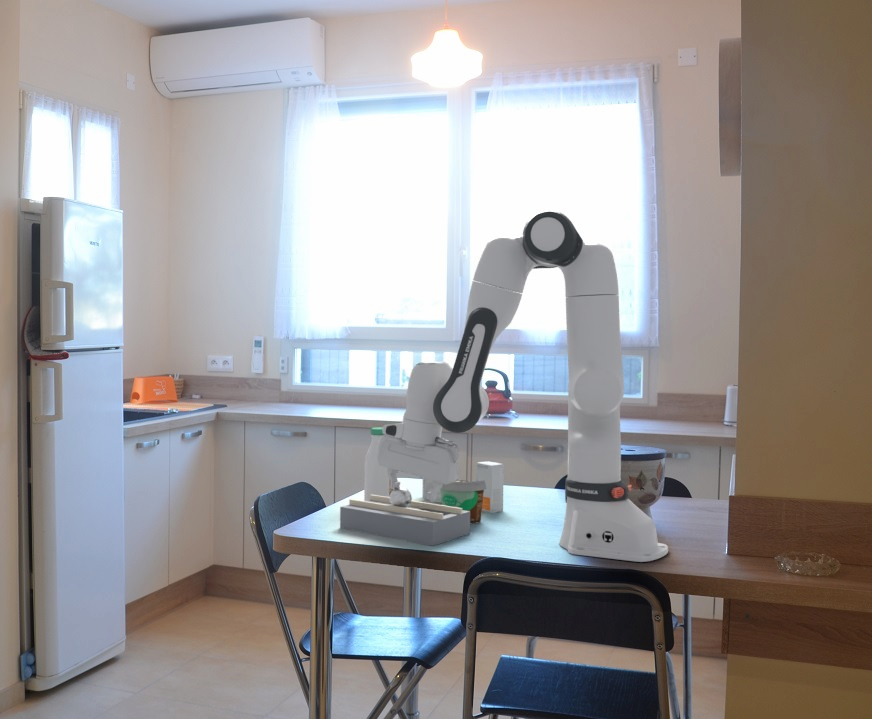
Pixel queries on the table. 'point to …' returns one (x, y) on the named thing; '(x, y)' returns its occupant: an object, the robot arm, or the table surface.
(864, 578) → the table surface
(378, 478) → the milk bottle
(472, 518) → the food container
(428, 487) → the supplement box
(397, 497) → the steel ball
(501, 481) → the skincare box
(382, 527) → the grey slotted tray
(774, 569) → the table surface
